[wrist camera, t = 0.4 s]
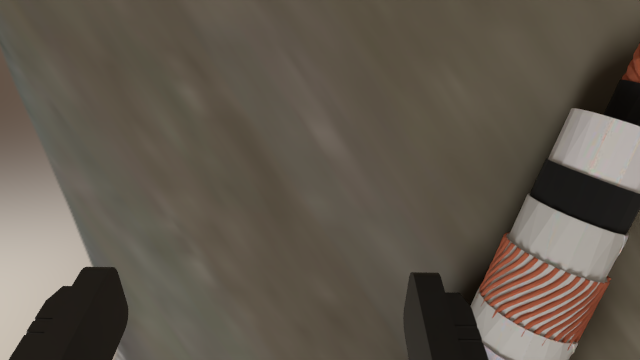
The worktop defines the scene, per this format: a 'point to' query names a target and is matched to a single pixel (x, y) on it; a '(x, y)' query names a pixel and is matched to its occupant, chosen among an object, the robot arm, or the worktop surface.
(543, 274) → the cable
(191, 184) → the worktop surface
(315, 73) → the worktop surface
